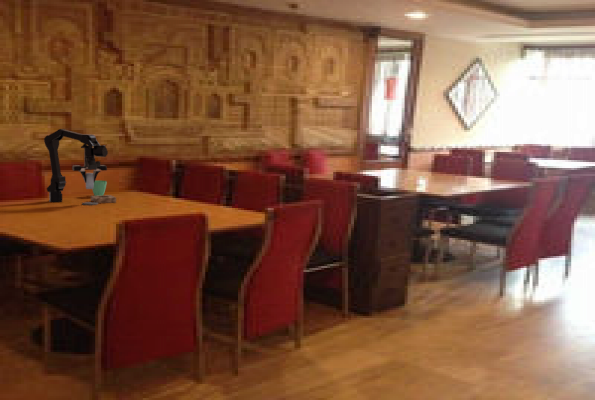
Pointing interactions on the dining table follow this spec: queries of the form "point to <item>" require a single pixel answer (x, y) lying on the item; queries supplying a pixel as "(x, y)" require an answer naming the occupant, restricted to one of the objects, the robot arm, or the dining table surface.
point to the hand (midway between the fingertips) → (89, 182)
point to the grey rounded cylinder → (89, 180)
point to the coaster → (89, 203)
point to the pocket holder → (103, 199)
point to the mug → (99, 188)
